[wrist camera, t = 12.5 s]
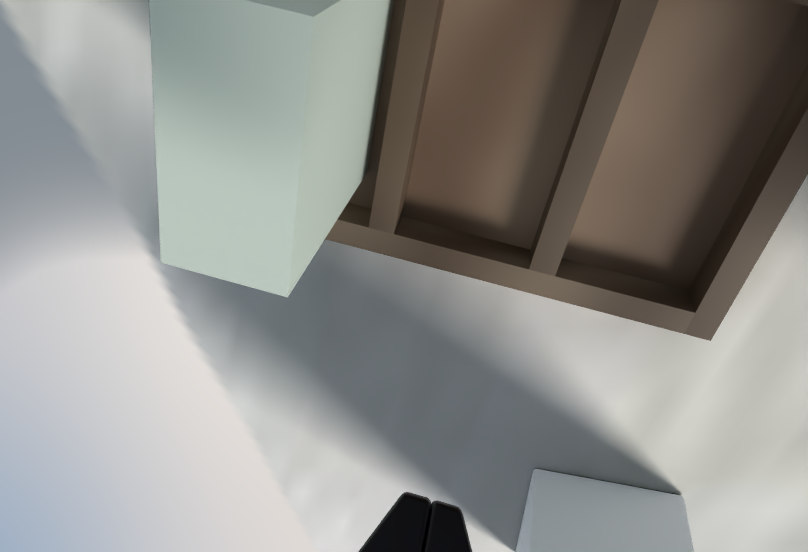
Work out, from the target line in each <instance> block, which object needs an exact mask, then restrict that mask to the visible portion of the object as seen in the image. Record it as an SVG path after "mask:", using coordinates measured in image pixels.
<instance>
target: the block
mask: <svg viewBox="0 0 808 552" xmlns="http://www.w3.org/2000/svg"><path fill="white" fill-rule="evenodd" d="M393 6H394V0H149V15H150V37H151V59H152V81H153V103H154V125H155V147H156V169H157V191H158V213H159V235H160V257H161V263H164V264H167V265H171V266H175V267H178V268H182V269H186V270H189V271H193V272H197V273H200V274H204V275H207V276H211V277H215V278H218V279H222V280H226V281H229V282H233V283H237V284H240V285H244V286H248V287H251V288H255V289H259V290H262V291H266V292H269V293H273V294H277V295H280V296H284V297H288V296H289V295H290V293H291V292H292V290H293V288H294V287H295V285H296V284H297V282H298V281H299V279H300V277H301V276H302V274H303V273H304V271H305V270H306V268H307V266H308V265H309V263H310V262H311V260H312V258H313V257H314V255H315V254H316V252H317V251H318V249H319V247H320V246H321V244H322V243H323V241H324V240H325V238H326V236H327V235H328V233H329V232H330V230H331V229H332V227H333V225H334V224H335V222H336V221H337V219H338V217H339V216H340V214H341V213H342V211H343V210H344V208H345V206H346V205H347V203H348V202H349V200H350V199H351V197H352V195H353V194H354V192H355V191H356V189H357V188H358V186H359V184H360V183H361V181H362V180H363V178H364V177H365V175H366V173H367V170H368V164H369V157H370V151H371V145H372V138H373V132H374V126H375V119H376V113H377V107H378V101H379V94H380V88H381V82H382V75H383V69H384V63H385V56H386V50H387V44H388V37H389V31H390V25H391V18H392V12H393Z"/></svg>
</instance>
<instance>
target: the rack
mask: <svg viewBox="0 0 808 552" xmlns="http://www.w3.org/2000/svg"><path fill="white" fill-rule="evenodd" d="M807 174H808V0H394V6H393V12H392V18H391V25H390V31H389V37H388V44H387V50H386V56H385V63H384V69H383V75H382V82H381V88H380V94H379V101H378V107H377V113H376V119H375V126H374V132H373V138H372V145H371V151H370V157H369V164H368V170H367V173H366V175H365V177H364V178H363V180H362V181H361V183H360V184H359V186H358V188H357V189H356V191H355V192H354V194H353V195H352V197H351V199H350V200H349V202H348V203H347V205H346V206H345V208H344V210H343V211H342V213H341V214H340V216H339V217H338V219H337V221H336V222H335V224H334V225H333V227H332V229H331V230H330V232H329V233H328V235H327V236H326V238H325V239H327V240H331V241H335V242H338V243H342V244H346V245H350V246H354V247H357V248H361V249H365V250H369V251H372V252H376V253H380V254H384V255H388V256H391V257H395V258H399V259H403V260H407V261H410V262H414V263H418V264H422V265H426V266H429V267H433V268H437V269H441V270H445V271H448V272H452V273H456V274H460V275H463V276H467V277H471V278H475V279H479V280H482V281H486V282H490V283H494V284H498V285H501V286H505V287H509V288H513V289H517V290H520V291H524V292H528V293H532V294H535V295H539V296H543V297H547V298H551V299H554V300H558V301H562V302H566V303H570V304H573V305H577V306H581V307H585V308H589V309H592V310H596V311H600V312H604V313H608V314H611V315H615V316H619V317H623V318H626V319H630V320H634V321H638V322H642V323H645V324H649V325H653V326H657V327H661V328H664V329H668V330H672V331H676V332H680V333H683V334H687V335H691V336H695V337H698V338H702V339H706V340H710V341H711V339H712V337H713V336H714V334H715V332H716V331H717V329H718V327H719V325H720V324H721V322H722V320H723V319H724V317H725V315H726V313H727V312H728V310H729V308H730V307H731V305H732V303H733V301H734V300H735V298H736V296H737V295H738V293H739V291H740V289H741V288H742V286H743V284H744V283H745V281H746V279H747V277H748V276H749V274H750V272H751V271H752V269H753V267H754V265H755V264H756V262H757V260H758V259H759V257H760V255H761V253H762V252H763V250H764V248H765V247H766V245H767V243H768V241H769V240H770V238H771V236H772V235H773V233H774V231H775V229H776V228H777V226H778V224H779V222H780V221H781V219H782V217H783V216H784V214H785V212H786V210H787V209H788V207H789V205H790V204H791V202H792V200H793V198H794V197H795V195H796V193H797V192H798V190H799V188H800V186H801V185H802V183H803V181H804V180H805V178H806V176H807Z"/></svg>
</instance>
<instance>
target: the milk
mask: <svg viewBox="0 0 808 552" xmlns="http://www.w3.org/2000/svg"><path fill="white" fill-rule="evenodd" d="M516 552H694V549H693V543H692V538H691V533H690V528H689V522H688V517H687V512H686V506H685V502H684V498H683V496H680V495H675V494H670V493H664V492H659V491H654V490H648V489H643V488H638V487H632V486H627V485H621V484H616V483H611V482H605V481H600V480H594V479H589V478H584V477H578V476H573V475H568V474H562V473H557V472H551V471H546V470H541V469H534V470H533V474H532V478H531V483H530V488H529V492H528V497H527V501H526V506H525V510H524V515H523V520H522V524H521V529H520V533H519V538H518V542H517V547H516Z"/></svg>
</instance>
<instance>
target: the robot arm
mask: <svg viewBox="0 0 808 552" xmlns="http://www.w3.org/2000/svg"><path fill="white" fill-rule="evenodd" d="M359 552H472V549H471V545H470V541H469V537H468V533H467V529H466V525H465V521H464V517H463V514H462V511H461V509H460V508H459V507H457V506H454V505H451V504H447V503H444V502H440V501H433V502H432V504H431V501H430V500H429V499H428V498H427V497H423V496H420V495H416V494H413V493H409V492H405V493H403V494H402V495H401V496H400V497H399V499H398V500H397V501H396V503H395V504H394V505H393V506H392V508H391V509H390V510H389V512H388V513H387V514H386V516H385V517H384V518H383V520H382V521H381V522H380V524H379V525H378V526H377V528H376V529H375V530H374V532H373V533H372V534H371V536H370V537H369V538H368V540H367V541H366V542H365V544H364V545H363V546H362V548H361V549H360V550H359Z"/></svg>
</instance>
